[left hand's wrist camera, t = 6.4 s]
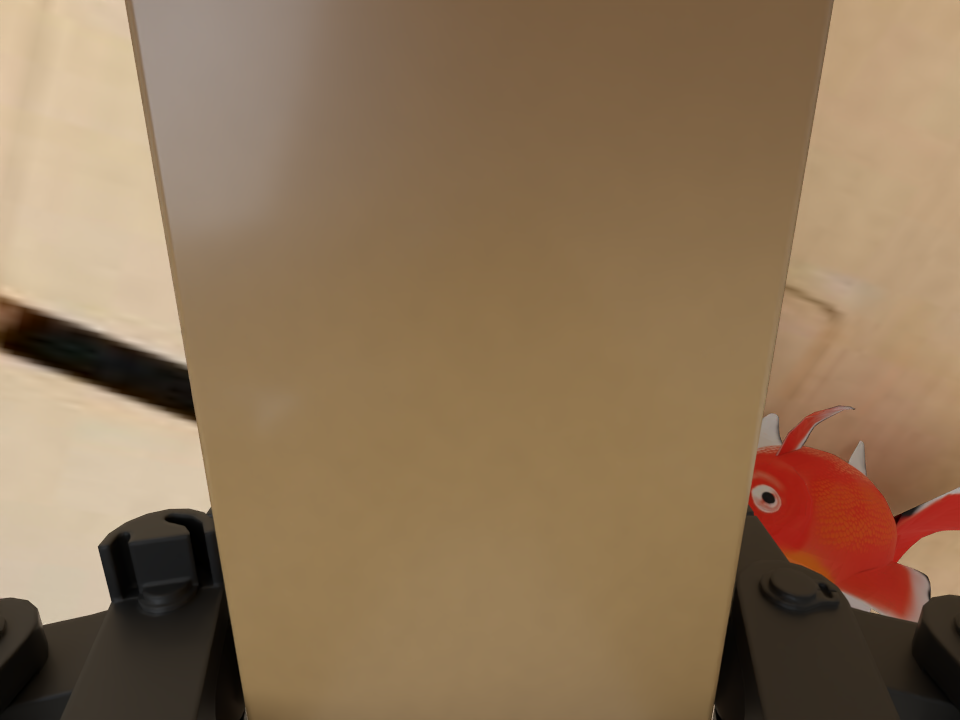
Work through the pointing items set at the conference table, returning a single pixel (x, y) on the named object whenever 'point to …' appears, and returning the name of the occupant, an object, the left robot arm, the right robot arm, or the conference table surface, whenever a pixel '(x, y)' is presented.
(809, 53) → the bar
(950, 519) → the fish
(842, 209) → the conference table surface
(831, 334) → the conference table surface
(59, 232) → the conference table surface
